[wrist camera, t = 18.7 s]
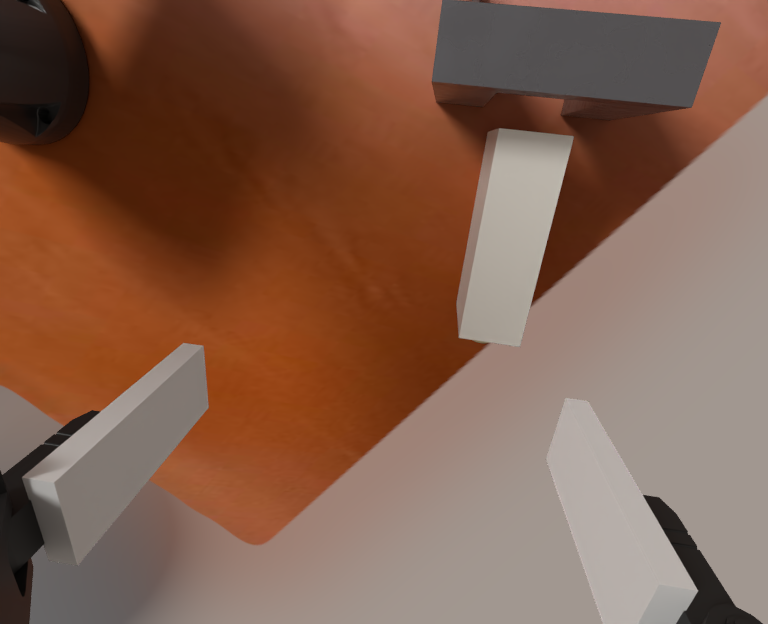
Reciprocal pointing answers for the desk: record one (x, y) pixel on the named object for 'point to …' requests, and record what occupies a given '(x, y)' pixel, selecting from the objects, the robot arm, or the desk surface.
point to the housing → (570, 58)
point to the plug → (509, 232)
